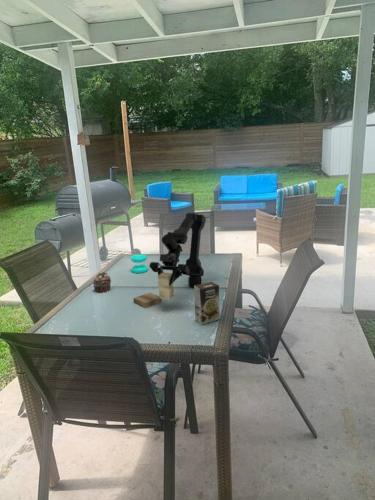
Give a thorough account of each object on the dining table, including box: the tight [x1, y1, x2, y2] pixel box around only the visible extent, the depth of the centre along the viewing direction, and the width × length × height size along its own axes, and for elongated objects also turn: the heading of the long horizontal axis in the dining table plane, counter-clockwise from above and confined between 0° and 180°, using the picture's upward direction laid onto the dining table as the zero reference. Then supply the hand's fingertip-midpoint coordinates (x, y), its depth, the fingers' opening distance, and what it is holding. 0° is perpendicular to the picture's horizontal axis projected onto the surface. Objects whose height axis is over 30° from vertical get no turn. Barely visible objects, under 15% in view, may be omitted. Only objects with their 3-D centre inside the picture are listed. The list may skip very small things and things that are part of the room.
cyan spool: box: [130, 253, 149, 274], centre depth 244 cm, size 10×10×10 cm
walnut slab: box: [132, 292, 163, 309], centre depth 193 cm, size 10×10×3 cm
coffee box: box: [193, 281, 221, 325], centre depth 168 cm, size 9×6×16 cm
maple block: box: [157, 272, 175, 300], centre depth 181 cm, size 5×5×11 cm
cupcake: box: [92, 271, 112, 294], centre depth 213 cm, size 10×10×10 cm
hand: (164, 284), depth 179 cm, fingers closed on maple block, 5 cm apart
